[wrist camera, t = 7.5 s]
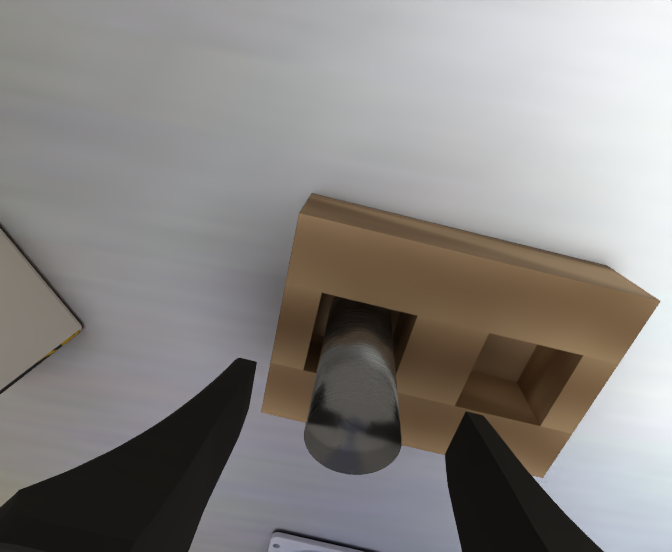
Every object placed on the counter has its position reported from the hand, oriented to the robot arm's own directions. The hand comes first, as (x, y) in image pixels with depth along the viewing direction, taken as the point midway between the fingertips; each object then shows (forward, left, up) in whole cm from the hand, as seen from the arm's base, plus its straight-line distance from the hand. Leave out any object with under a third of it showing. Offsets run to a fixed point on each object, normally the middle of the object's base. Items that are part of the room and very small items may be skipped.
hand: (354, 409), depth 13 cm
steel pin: (0, 0, -7) cm, 7 cm away
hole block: (0, -3, -7) cm, 8 cm away
